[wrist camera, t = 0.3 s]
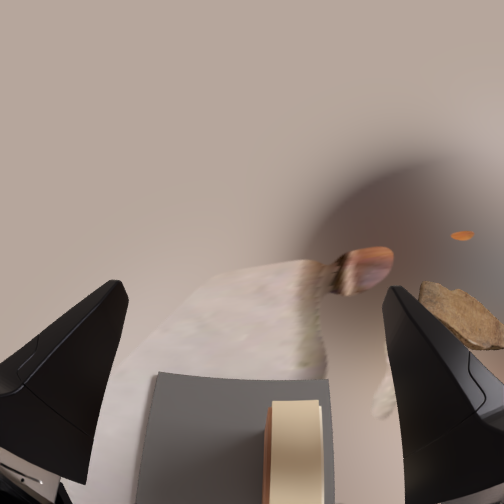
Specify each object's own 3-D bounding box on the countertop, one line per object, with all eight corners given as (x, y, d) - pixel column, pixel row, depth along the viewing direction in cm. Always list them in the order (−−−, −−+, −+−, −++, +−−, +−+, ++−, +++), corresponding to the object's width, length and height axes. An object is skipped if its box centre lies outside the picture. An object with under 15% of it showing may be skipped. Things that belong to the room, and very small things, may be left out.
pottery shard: (496, 321, 26) (418, 282, 31) (507, 310, 24) (427, 268, 29) (497, 371, 21) (410, 333, 26) (510, 361, 19) (422, 320, 24)
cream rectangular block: (301, 506, 13) (325, 517, 8) (261, 508, 13) (264, 521, 8) (301, 428, 18) (322, 399, 13) (264, 429, 19) (268, 400, 13)
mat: (330, 565, 9) (332, 567, 8) (134, 549, 9) (131, 550, 9) (326, 381, 22) (328, 379, 22) (160, 374, 23) (158, 371, 22)
